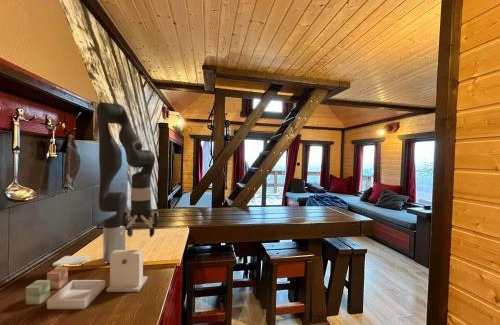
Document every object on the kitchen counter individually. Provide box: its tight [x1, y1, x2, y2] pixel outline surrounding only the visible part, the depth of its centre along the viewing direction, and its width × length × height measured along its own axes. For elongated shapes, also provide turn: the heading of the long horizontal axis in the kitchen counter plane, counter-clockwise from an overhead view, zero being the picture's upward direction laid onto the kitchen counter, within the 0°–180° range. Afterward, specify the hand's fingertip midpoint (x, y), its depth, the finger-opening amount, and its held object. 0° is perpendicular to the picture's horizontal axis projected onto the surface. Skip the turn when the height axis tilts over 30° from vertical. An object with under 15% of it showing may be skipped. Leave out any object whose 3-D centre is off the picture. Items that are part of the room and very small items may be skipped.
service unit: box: [105, 249, 149, 293], centre depth 93 cm, size 9×12×14 cm
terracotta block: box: [46, 267, 69, 290], centre depth 91 cm, size 4×4×6 cm
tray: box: [46, 279, 106, 311], centre depth 84 cm, size 12×12×3 cm
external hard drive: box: [52, 255, 92, 267], centre depth 110 cm, size 2×8×12 cm
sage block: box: [25, 279, 51, 305], centre depth 82 cm, size 4×4×6 cm
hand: (140, 236), depth 97 cm, fingers open, 8 cm apart
